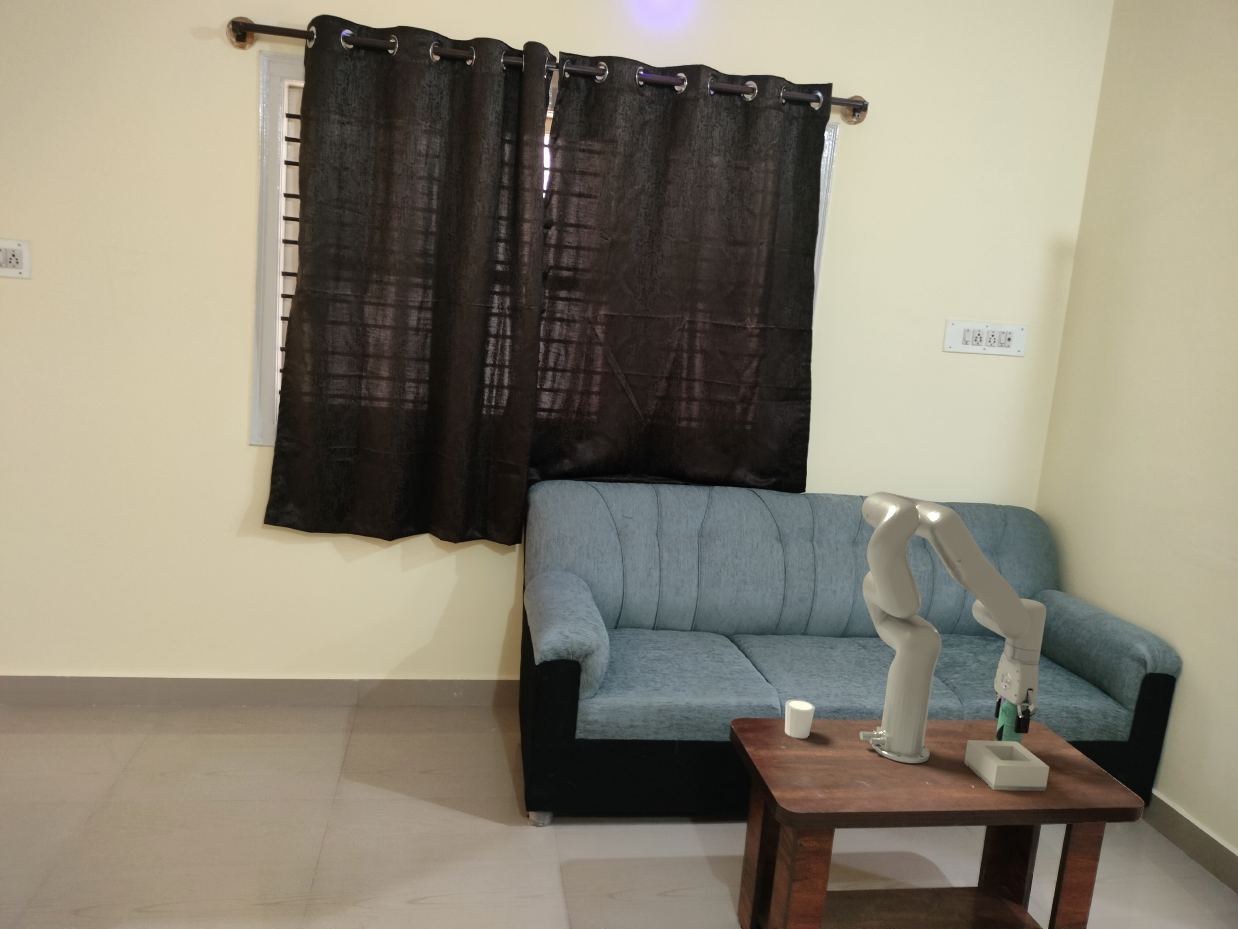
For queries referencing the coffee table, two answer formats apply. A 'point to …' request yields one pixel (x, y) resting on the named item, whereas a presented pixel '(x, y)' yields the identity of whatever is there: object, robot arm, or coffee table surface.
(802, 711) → the white cup
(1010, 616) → the robot arm
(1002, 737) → the spray can
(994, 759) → the can holder
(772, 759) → the coffee table surface
